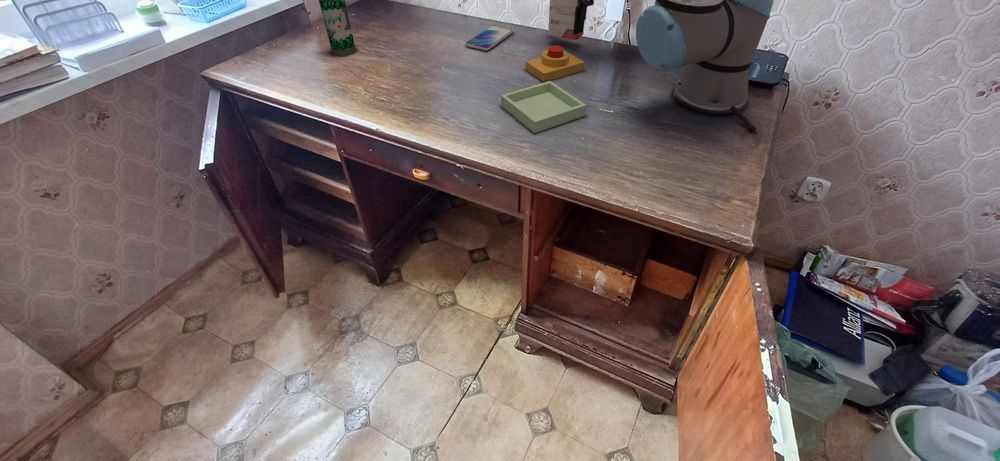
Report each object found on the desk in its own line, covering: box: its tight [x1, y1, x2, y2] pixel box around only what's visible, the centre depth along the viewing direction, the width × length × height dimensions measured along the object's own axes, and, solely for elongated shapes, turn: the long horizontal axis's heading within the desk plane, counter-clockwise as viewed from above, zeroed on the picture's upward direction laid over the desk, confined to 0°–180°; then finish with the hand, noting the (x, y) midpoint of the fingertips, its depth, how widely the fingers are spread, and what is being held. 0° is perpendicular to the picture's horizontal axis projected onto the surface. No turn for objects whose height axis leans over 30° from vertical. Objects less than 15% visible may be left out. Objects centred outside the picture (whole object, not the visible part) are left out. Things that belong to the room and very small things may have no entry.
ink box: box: [547, 0, 584, 41], centre depth 122 cm, size 9×5×12 cm, turn 58°
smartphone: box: [465, 25, 514, 52], centre depth 129 cm, size 7×1×15 cm
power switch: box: [524, 49, 585, 83], centre depth 114 cm, size 8×12×4 cm, turn 121°
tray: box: [500, 80, 587, 134], centre depth 100 cm, size 13×13×3 cm
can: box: [318, 0, 357, 57], centre depth 120 cm, size 6×6×15 cm
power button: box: [547, 45, 564, 58], centre depth 113 cm, size 4×4×2 cm
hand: (566, 27), depth 124 cm, fingers closed on ink box, 9 cm apart
